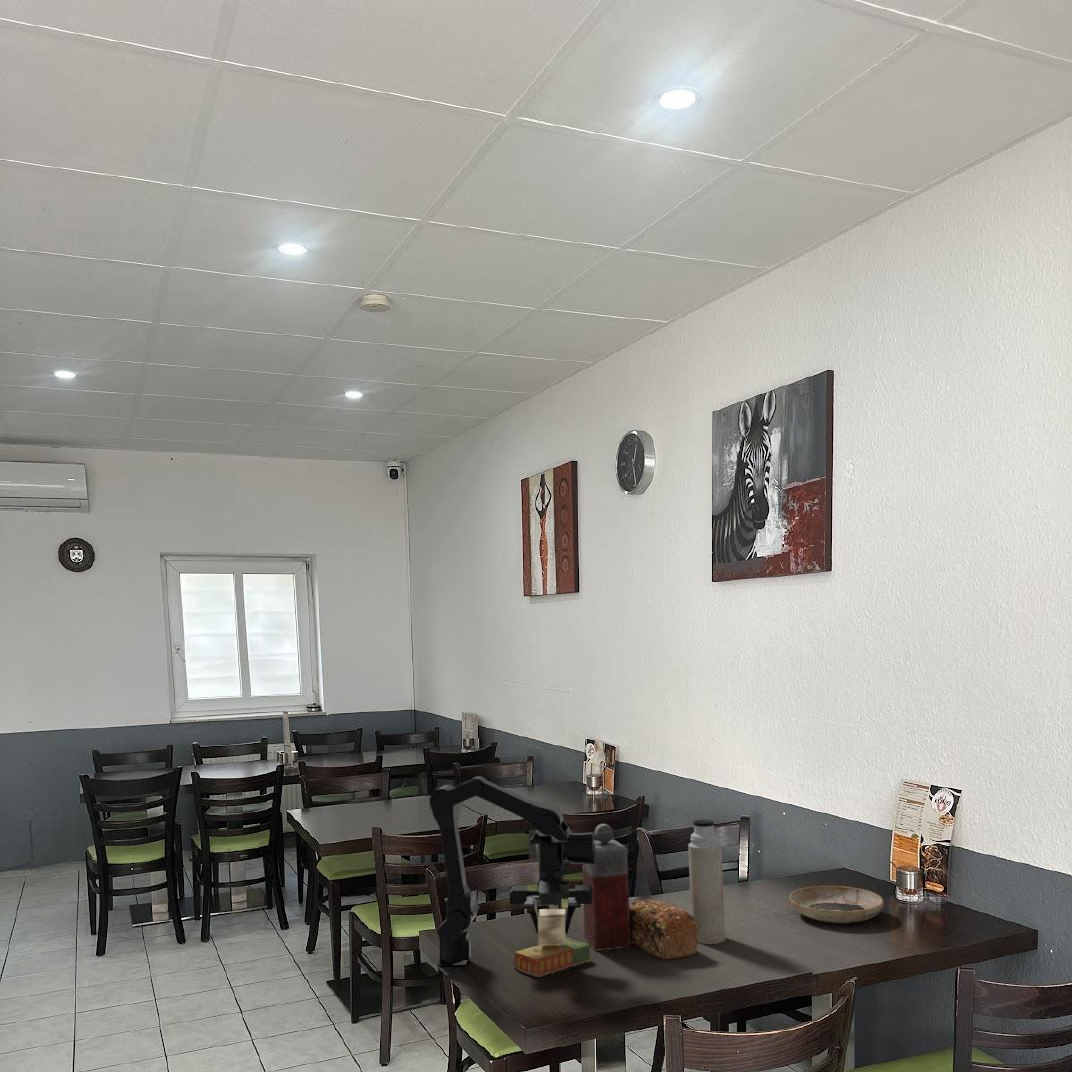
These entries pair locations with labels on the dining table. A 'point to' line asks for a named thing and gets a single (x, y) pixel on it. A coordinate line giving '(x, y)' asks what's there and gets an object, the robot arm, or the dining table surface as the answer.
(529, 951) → the carton
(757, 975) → the dining table surface
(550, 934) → the beech cube
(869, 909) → the ceramic bowl
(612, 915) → the red sauce bottle
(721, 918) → the thermos bottle
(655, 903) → the bread
